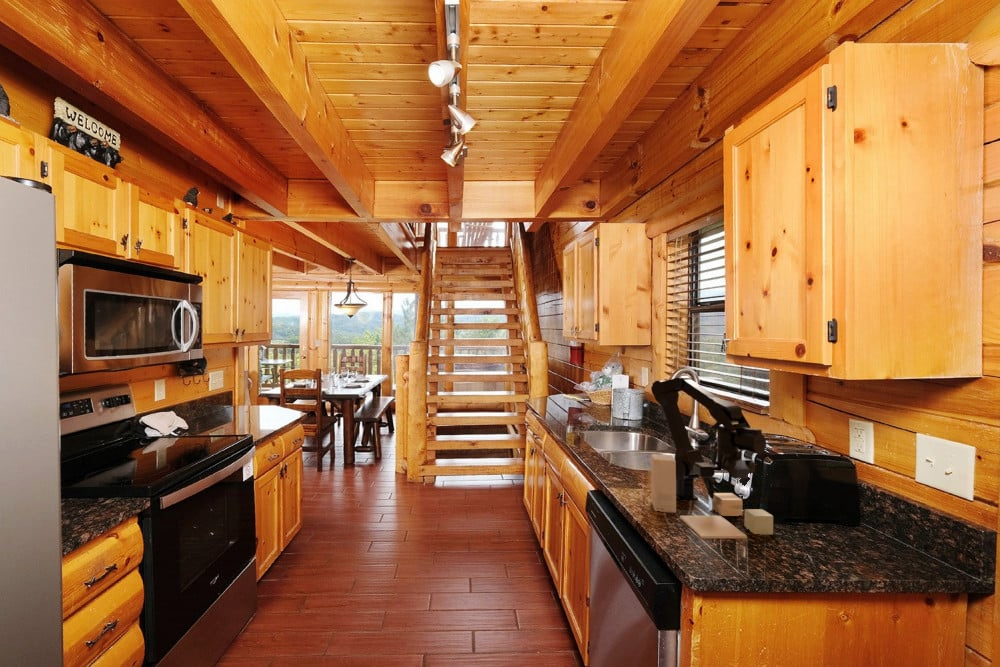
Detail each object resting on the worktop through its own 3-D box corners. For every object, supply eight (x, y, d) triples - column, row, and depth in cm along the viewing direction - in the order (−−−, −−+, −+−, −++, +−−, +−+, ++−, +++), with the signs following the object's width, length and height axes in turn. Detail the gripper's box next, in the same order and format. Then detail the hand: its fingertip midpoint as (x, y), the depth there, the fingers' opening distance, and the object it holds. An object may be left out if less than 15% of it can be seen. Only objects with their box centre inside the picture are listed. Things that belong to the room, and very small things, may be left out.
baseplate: (679, 517, 139) (679, 515, 139) (720, 517, 140) (720, 515, 140) (701, 538, 125) (701, 536, 125) (746, 538, 126) (746, 536, 126)
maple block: (712, 509, 147) (712, 493, 147) (731, 509, 147) (731, 493, 147) (722, 517, 141) (722, 499, 141) (742, 516, 141) (742, 499, 141)
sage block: (744, 527, 133) (744, 509, 133) (762, 527, 133) (762, 509, 133) (754, 534, 128) (754, 516, 128) (772, 534, 128) (773, 516, 128)
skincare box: (676, 513, 142) (677, 461, 142) (653, 511, 144) (653, 459, 144) (672, 503, 151) (672, 454, 151) (650, 502, 152) (650, 453, 152)
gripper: (709, 453, 135) (708, 508, 135) (774, 453, 136) (773, 508, 136) (692, 443, 146) (691, 494, 147) (752, 444, 147) (751, 494, 147)
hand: (726, 498), depth 144 cm, fingers open, 9 cm apart
